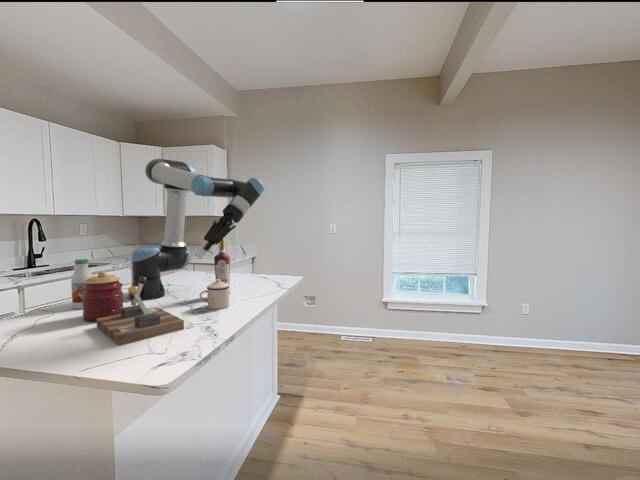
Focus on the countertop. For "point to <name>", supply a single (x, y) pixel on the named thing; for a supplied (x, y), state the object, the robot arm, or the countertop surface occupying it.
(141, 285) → the rear lever
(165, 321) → the brown wooden base
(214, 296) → the teacup with lid
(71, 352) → the countertop surface
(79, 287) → the milk bottle
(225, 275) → the liquor
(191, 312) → the countertop surface
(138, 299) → the front lever
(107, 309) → the canister
